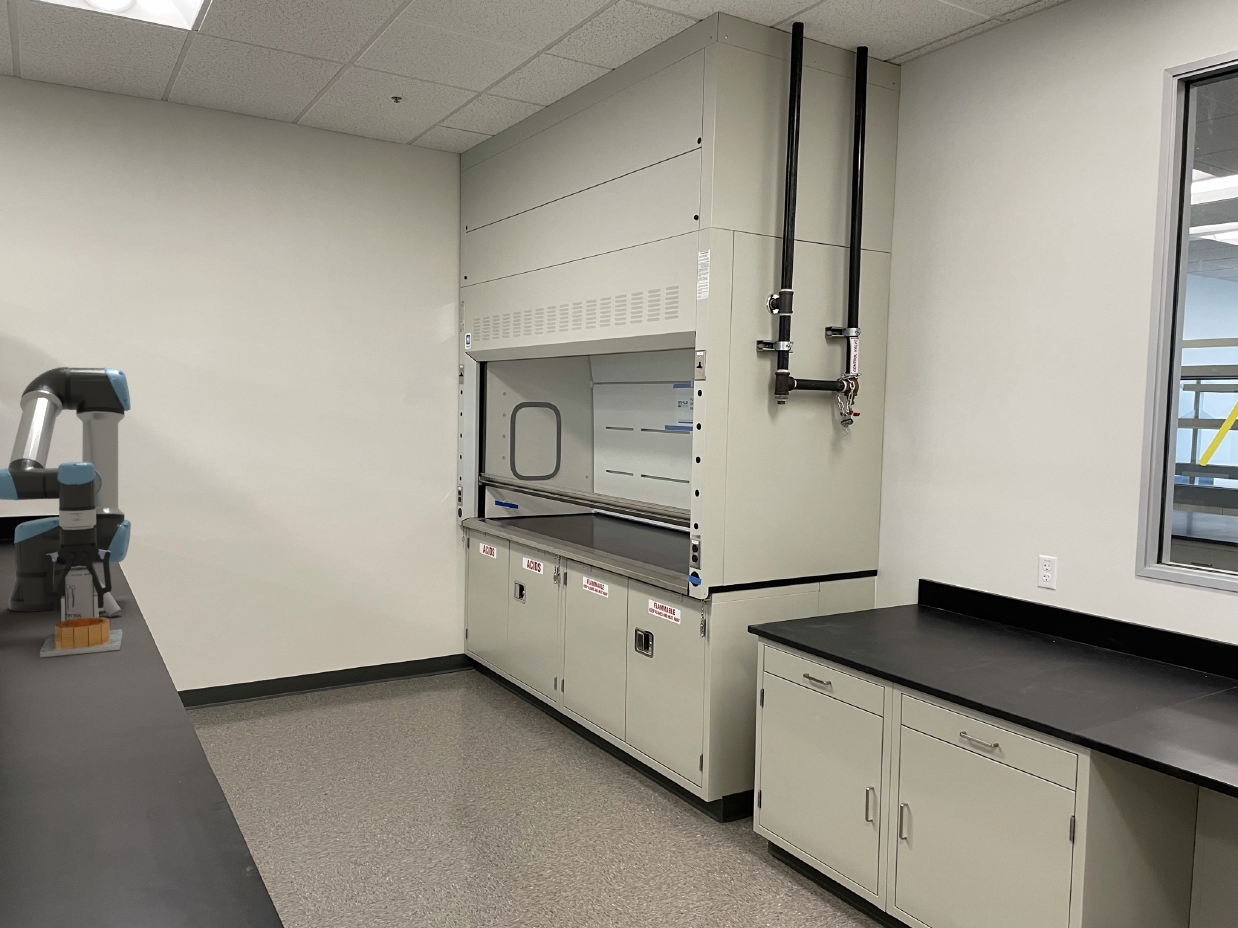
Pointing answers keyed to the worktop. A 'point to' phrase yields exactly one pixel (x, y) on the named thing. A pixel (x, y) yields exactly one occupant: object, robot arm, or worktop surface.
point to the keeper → (82, 637)
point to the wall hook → (109, 603)
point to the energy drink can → (79, 594)
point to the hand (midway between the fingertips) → (80, 622)
